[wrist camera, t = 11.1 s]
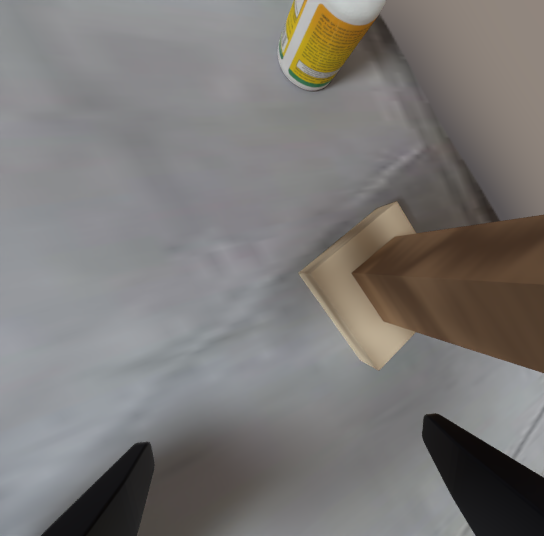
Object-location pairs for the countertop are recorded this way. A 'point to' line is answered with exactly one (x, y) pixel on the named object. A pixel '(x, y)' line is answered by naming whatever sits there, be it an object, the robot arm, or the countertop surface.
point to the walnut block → (466, 287)
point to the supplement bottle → (323, 38)
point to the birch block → (348, 294)
